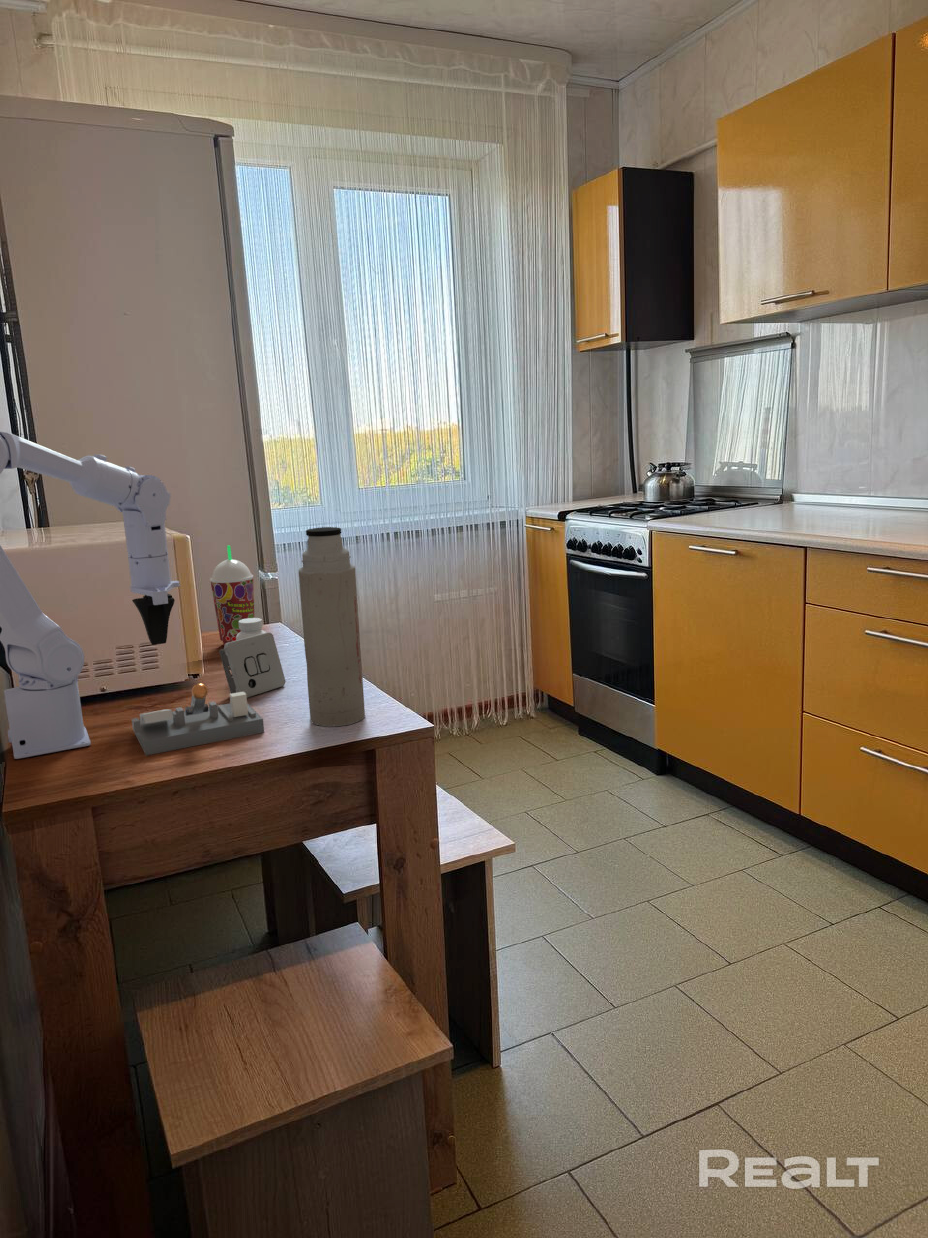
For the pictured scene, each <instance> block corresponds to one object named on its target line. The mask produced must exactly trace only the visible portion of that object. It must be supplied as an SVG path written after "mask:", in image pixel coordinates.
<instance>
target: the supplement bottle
mask: <svg viewBox="0 0 928 1238" xmlns="http://www.w3.org/2000/svg"><path fill="white" fill-rule="evenodd" d="M263 626H264V625H263V619H262V618H259V617H255V618H247V619H242V620H240V621H239V629H240V630H241V632H240V633H238V634H237V636H236V640H240V639H244V638H248V637H252V636H256V635H259V634H263V633H267V631H266V630H263V629H262V628H263Z"/></svg>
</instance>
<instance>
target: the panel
mask: <svg viewBox="0 0 928 1238" xmlns="http://www.w3.org/2000/svg"><path fill="white" fill-rule="evenodd" d="M247 707H248V715H243V716H237V717H234V716H233V715H232V714H231V705H230V702H229V703H224V704H217V703H216V702H215V701H208V712H204V713H200V714H195V715H188V716H186V713H185V709H183V707H182V706H180V707H175V710H172V714H173V718H172V719H167V720H161V721H156V722H150V723H141V720H140V718H139V717H133V718H131V724H132V730H133V733H134V735H135V737H136V738H137V741H138V743H139V745H140V746H141V748H142V750H143V752H144V755H145V756H150V755H156V754H161V753H165V752H171V751H175V750H181V749H185V748H190V747H192V748H193V747H195V746H197V747H198V746H200V745H206V744H211V743H216V742H221V741H227V740H231V739H236V738H241V737H247V736H251V735H257V734H262V733H265V726H264V718H263V716H261V715H260V714H259V713H258V712H257V711H256V710H255V709H254V708H253V707H252V706H251V705H250V704H249V703H248V702H247Z"/></svg>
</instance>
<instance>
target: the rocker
mask: <svg viewBox="0 0 928 1238" xmlns="http://www.w3.org/2000/svg"><path fill="white" fill-rule="evenodd" d="M172 712H173V709H160V710H155V711H149V712H143V713H140V714H139V720H141V723H150V722H156V721H161V720H167V719H172V718H173V714H172Z"/></svg>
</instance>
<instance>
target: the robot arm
mask: <svg viewBox="0 0 928 1238" xmlns="http://www.w3.org/2000/svg"><path fill="white" fill-rule="evenodd" d="M107 459H108V456H105V455H104V454H97V453H96V454H93V455H85V456H83V457H81V458H80V459H75V458H73V457H70V456H67V455H66V454H62V453H60V452H58V451H55V450H52V449H50V448H48V447H45V446H43V445H41V444H38V443H36V442H33V441H30V440H28V439H26V438H23V437H20V436H18V435H16V434H14V433H10V432H8V431H2V430H0V475H1V474H2V473H3V472H4V470H5V469H6V470H9V469H10V470H13V469H17V468H18V469H23V470H25V471H28V472H33V473H36V474H39V475H43V476H47V477H49V478H53V479H57V480H60V481H62V482H63V481H64V482H67V483H69V484H70V487H71V488H72V490H73V492H74V493H75V494H76V495H78V496H80V497H84V498H88V499H90V500H93V501H97V502H101V503H102V504H106V505H109V506H112V507H114V508H116V510H117V511H119V512H120V513H122V519H123V527H124V534H125V543H126V551H127V560H128V570H129V576H130V577H129V578H130V586H129V589H130V593H134V594H139V595H143V596H142V597H140V598H133V599H132V600H131V601H132V603H133V604H134V606H135V607H136V608H137V610H138V613H139V614H140V616H141V619H142V621H143V624H144V625H143V626H144V627H145V631H146V634H147V638H148V640H149V642H150V644H151V645H152V646H155V645H162V644H166V643H167V639H168V632H169V630H168V629H169V621H170V616H171V613H172V609H173V607H174V604H175V598H174V597H173V595H171V593H169V592H171V590H172V589H174V588H179V587H181V584H180V581H179V580H172V578H171V568H170V561H169V560H170V558H169V551H168V543H167V541H168V540H167V534H166V533H167V532H166V525H165V524H166V523H165V522H166V521H167V516H166V514H167V509H168V507H169V505H170V503H171V492H169V491H168V489H167V488H166V485H165V483H164V482H162V479H160V478H159V477H157V476H155V475H152V474H151V475H150V474H143V475H142V474H139V473H137V472H136V468H134V467H133V466H125V467H123V466H120V465H117V464H114V463H112V462H110V461H109V462H108V460H107ZM0 628H1V632H0V643H1V645H2V647H3V648H4V651H5V661H6V664H7V666H8V668H9V669H10V670H11V671H12V673H15V674H16V675H17V677H18V686H15V687H12V688H7V689H4V690H3V694H4V701H5V702H4V703H5V707H6V716H7V719H8V720H7V721H8V727H9V729H7V730H6V731H7V735H8V737H7V738H8V741H9V744H10V743H11V745H12V751H13V758H14V759H15V760H18V759H24V758H29V757H35V756H41V755H45V754H51V753H56V752H62V751H66V750H71V749H77V748H82V747H87V746H90V745H91V743H92V742H91V739H90V736H89V734H88V730H87V728H86V727H85V725H84V719H83V712H82V703H81V696H80V691H79V683H78V682H79V678H78V676H80V674H81V672H82V670H83V668H84V664H85V653H84V650H83V648H82V647H81V645H80V643H78V642H77V641H76V640H73V638H70V637H68V635H66V633H65V632H64V631H63V629H62V627H61V626H60V625H58V624H57V623H56V622H55V621H54V620H52V619H51V618H49V616H47V615H46V614H45V613H43V611H42V610H41V607H40V606H39V605H38V603H37V601H36V600H35V599H34V597H33V596H32V594H31V592H30V590H29V589H28V587H27V585H26V584H25V582H24V580H23V579H22V577H21V576H20V574H19V573H18V571H17V570H16V568H15V566H14V564H13V563H12V561H11V560H10V558H9V557H8V555H7V554H6V551H5V550H4V548H3V546H2V545H1V544H0Z"/></svg>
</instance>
